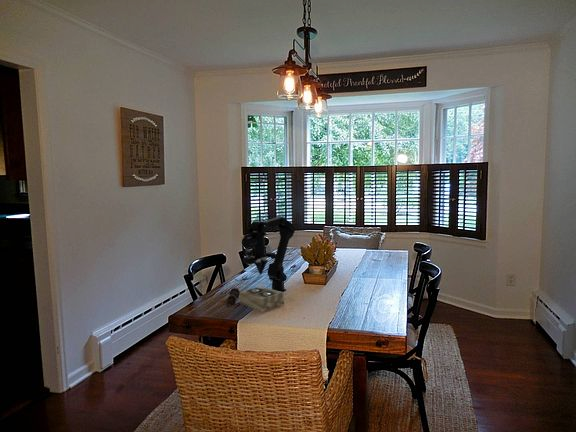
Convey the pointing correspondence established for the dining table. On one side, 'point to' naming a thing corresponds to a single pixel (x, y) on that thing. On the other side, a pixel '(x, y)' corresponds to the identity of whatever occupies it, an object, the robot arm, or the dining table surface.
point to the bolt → (233, 296)
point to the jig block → (261, 298)
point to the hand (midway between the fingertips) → (260, 273)
